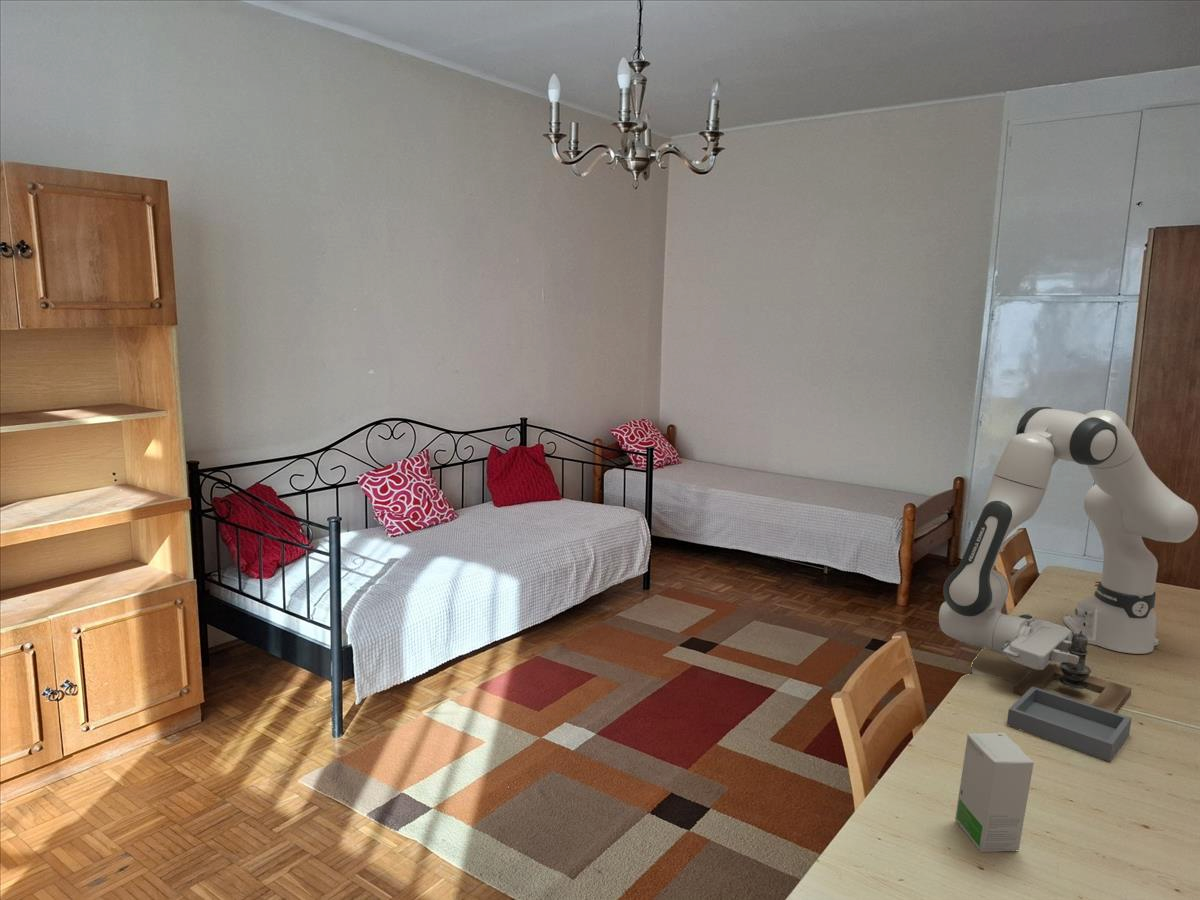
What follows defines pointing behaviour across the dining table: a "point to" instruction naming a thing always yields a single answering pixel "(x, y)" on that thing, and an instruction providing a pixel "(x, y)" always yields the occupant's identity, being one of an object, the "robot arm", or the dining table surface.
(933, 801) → the dining table surface
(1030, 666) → the robot arm
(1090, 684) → the socket block
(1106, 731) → the parts tray
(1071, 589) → the dining table surface
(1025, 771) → the skincare box
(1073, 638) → the dark piece
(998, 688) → the dining table surface
